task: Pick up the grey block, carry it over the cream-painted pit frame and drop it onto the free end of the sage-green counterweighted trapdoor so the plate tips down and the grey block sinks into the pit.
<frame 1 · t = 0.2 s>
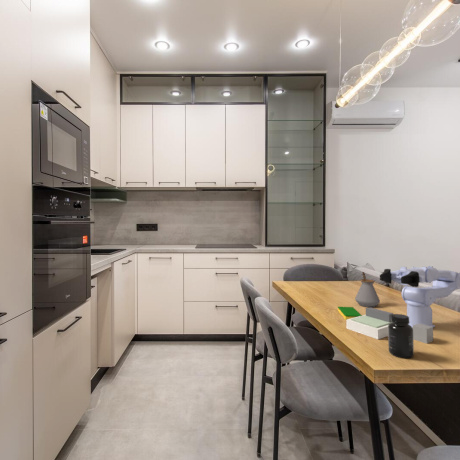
hand: (390, 278, 103), 21 cm above the table, tool horizontal, fingers open, 7 cm apart
trapdoor: (372, 317, 110), point 5 cm above the table, hinge at 0.0°
grey block: (422, 340, 100), on the table
dish sponge: (349, 316, 129), on the table
trapdoor frame: (372, 330, 110), on the table
supplement bottle: (400, 354, 89), on the table
coffee pot: (365, 303, 150), on the table
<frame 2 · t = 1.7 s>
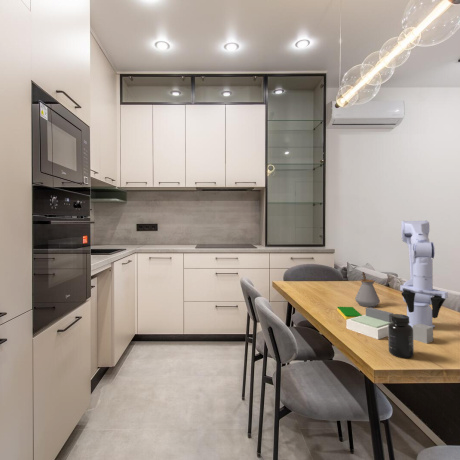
hand: (422, 314, 100), 9 cm above the table, tool pointing down, fingers open, 7 cm apart
nothing on the table moved.
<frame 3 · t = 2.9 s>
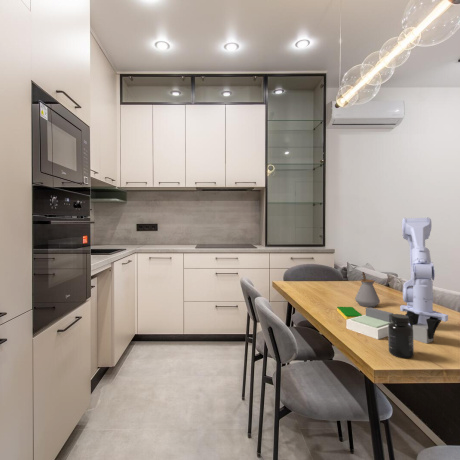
hand: (422, 336, 100), 1 cm above the table, tool pointing down, fingers closed on grey block, 4 cm apart
grey block: (422, 340, 100), on the table, touching gripper
everything else where it was.
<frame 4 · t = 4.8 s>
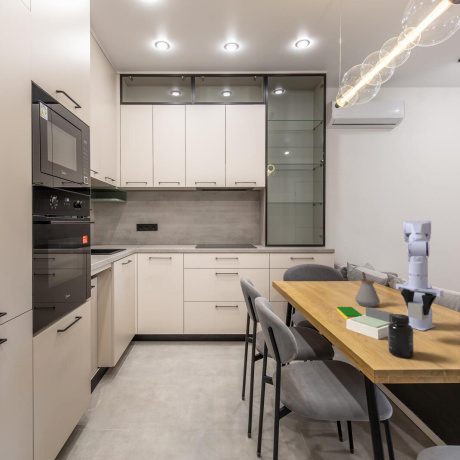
hand: (418, 312, 100), 9 cm above the table, tool pointing down, fingers closed on grey block, 4 cm apart
grey block: (418, 317, 100), point 8 cm above the table, touching gripper
everything else where it was.
when the fingers open (7 cm above the table, at t = 7.0 s): grey block drops 2 cm, resting on trapdoor.
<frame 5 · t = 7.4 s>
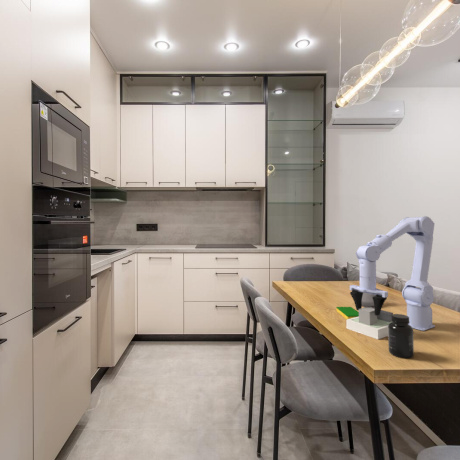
hand: (367, 312, 108), 7 cm above the table, tool pointing down, fingers open, 7 cm apart
trapdoor: (372, 317, 110), point 5 cm above the table, hinge at -3.2°, touching grey block
grey block: (368, 322, 108), point 4 cm above the table, touching trapdoor
everything else where it was.
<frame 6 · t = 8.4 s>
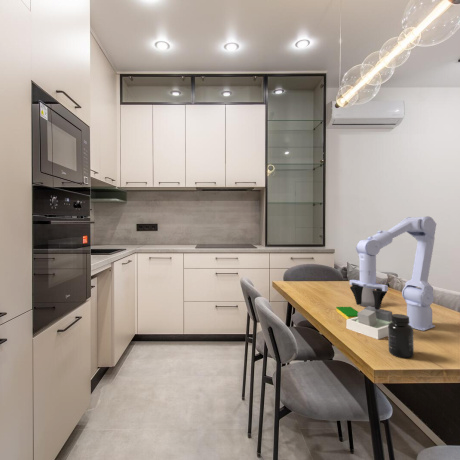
hand: (367, 306, 108), 10 cm above the table, tool pointing down, fingers open, 7 cm apart
trapdoor: (372, 318, 110), point 5 cm above the table, hinge at -12.8°, touching grey block
grey block: (368, 324, 108), point 3 cm above the table, tilted 13°, touching trapdoor
everything else where it was.
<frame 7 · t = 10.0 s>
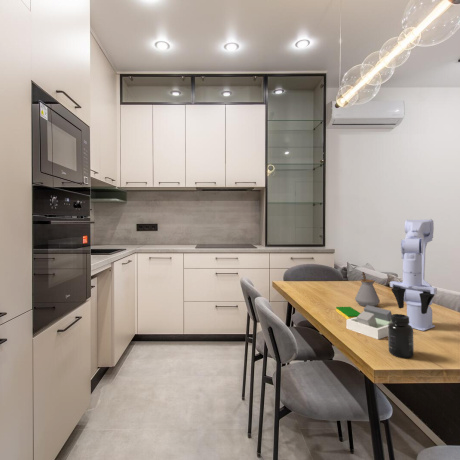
hand: (412, 310, 100), 10 cm above the table, tool pointing down, fingers open, 7 cm apart
trapdoor: (372, 319, 110), point 4 cm above the table, hinge at -23.3°, touching grey block
grey block: (368, 326, 108), point 2 cm above the table, tilted 23°, touching trapdoor, trapdoor frame
everything else where it was.
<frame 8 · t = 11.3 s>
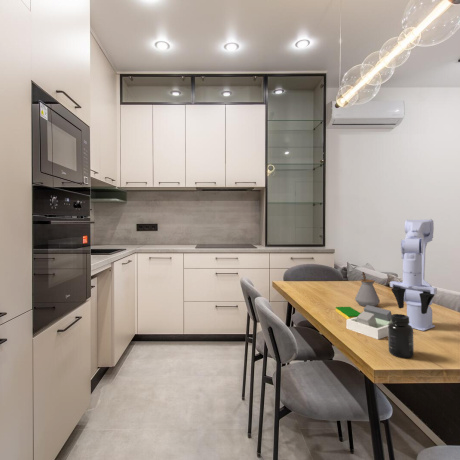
hand: (412, 310, 100), 10 cm above the table, tool pointing down, fingers open, 7 cm apart
trapdoor: (372, 319, 110), point 4 cm above the table, hinge at -24.4°, touching grey block
everything else where it was.
at the end: grey block inside the target area on the trapdoor frame (2.9 cm from its centre), point 1.8 cm above the trapdoor frame's base; the gripper is holding nothing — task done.
